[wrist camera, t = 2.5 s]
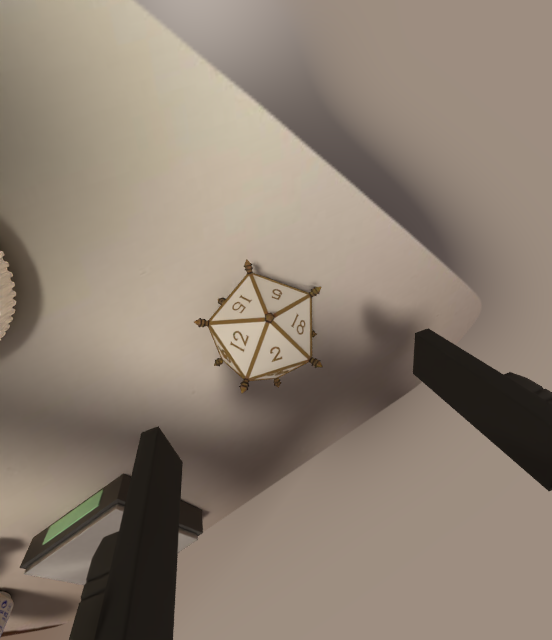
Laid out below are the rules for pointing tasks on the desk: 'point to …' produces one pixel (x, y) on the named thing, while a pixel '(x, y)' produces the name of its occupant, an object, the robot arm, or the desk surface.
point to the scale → (91, 511)
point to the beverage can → (4, 609)
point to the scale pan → (86, 549)
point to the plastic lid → (6, 296)
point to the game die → (263, 329)
